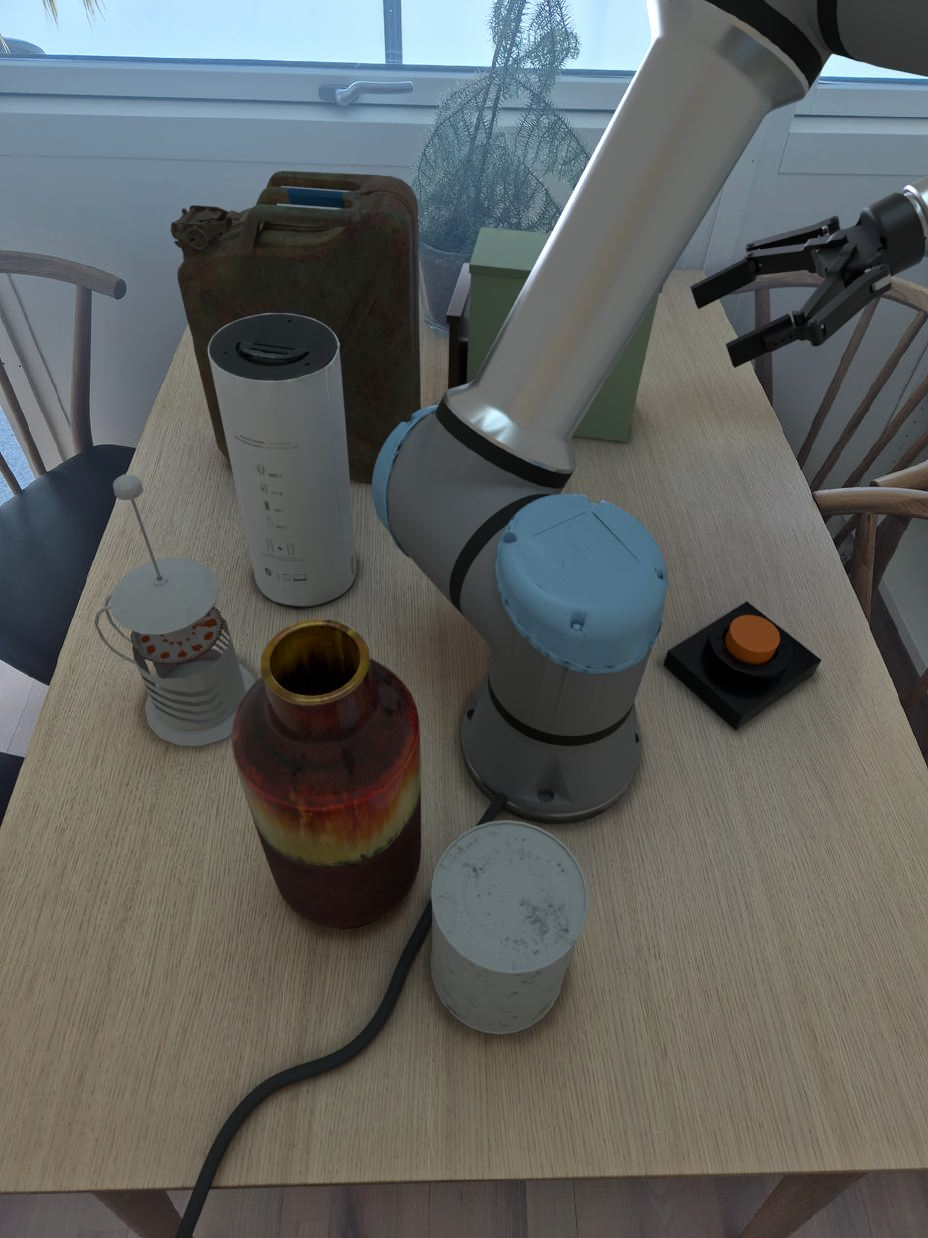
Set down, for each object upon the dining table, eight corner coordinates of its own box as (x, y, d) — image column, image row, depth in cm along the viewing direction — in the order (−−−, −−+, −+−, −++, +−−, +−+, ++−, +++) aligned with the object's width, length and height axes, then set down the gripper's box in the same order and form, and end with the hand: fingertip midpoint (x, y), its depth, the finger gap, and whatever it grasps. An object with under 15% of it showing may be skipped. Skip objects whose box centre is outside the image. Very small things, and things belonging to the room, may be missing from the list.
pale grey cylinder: (446, 1050, 55) (450, 991, 46) (418, 913, 61) (416, 836, 52) (581, 1016, 57) (611, 952, 48) (541, 885, 63) (560, 807, 54)
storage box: (629, 400, 107) (662, 244, 92) (628, 443, 100) (663, 284, 85) (473, 382, 108) (481, 226, 93) (462, 423, 102) (469, 263, 87)
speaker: (376, 555, 86) (361, 323, 67) (328, 623, 80) (297, 389, 60) (287, 527, 89) (248, 295, 69) (234, 591, 82) (174, 355, 63)
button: (751, 672, 73) (757, 659, 72) (714, 640, 75) (719, 628, 74) (784, 650, 75) (790, 637, 73) (746, 620, 77) (752, 607, 76)
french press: (234, 755, 70) (163, 538, 51) (105, 732, 71) (-11, 511, 52) (273, 666, 76) (222, 443, 57) (154, 646, 77) (66, 421, 58)
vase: (389, 786, 68) (374, 561, 49) (445, 906, 62) (453, 701, 42) (258, 838, 65) (186, 618, 45) (303, 969, 58) (240, 779, 39)
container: (423, 437, 100) (421, 173, 77) (412, 490, 93) (407, 218, 71) (239, 422, 101) (185, 156, 78) (216, 474, 94) (149, 199, 72)
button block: (735, 730, 73) (748, 704, 70) (662, 665, 78) (672, 637, 75) (813, 674, 78) (829, 647, 75) (740, 615, 82) (752, 587, 79)
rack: (563, 385, 108) (579, 274, 97) (556, 442, 100) (572, 328, 89) (460, 373, 109) (463, 262, 98) (444, 429, 101) (446, 314, 90)
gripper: (976, 311, 78) (756, 412, 84) (865, 213, 95) (690, 303, 101) (971, 241, 73) (737, 353, 79) (855, 151, 90) (671, 249, 97)
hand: (710, 325), depth 90 cm, fingers open, 13 cm apart
